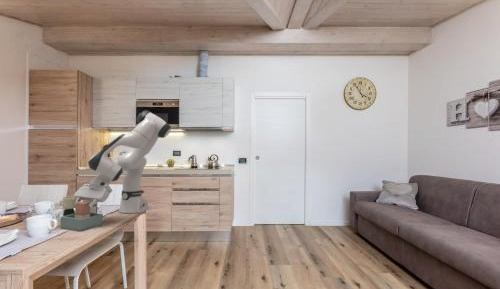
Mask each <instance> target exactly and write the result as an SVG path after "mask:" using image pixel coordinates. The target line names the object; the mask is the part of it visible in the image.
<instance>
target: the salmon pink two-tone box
mask: <svg viewBox="0 0 500 289" xmlns="http://www.w3.org/2000/svg"><path fill="white" fill-rule="evenodd" d="M89 203H90V202H84V201H83V200H82V201H80V202H78V203H75V208H74V210H75V218H77V219H84V218H88V217H90V208H89V207H88V205H89Z"/></svg>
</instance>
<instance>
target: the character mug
mask: <svg viewBox="0 0 500 289" xmlns="http://www.w3.org/2000/svg"><path fill="white" fill-rule="evenodd" d="M76 200H77V199H76V198H75V197H74V195H73V196H64V197H62V199H60V200H59V206H60V207H62V209H63V214H62V216H67V215H71V214H75V203H76Z"/></svg>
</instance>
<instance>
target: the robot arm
mask: <svg viewBox="0 0 500 289" xmlns="http://www.w3.org/2000/svg"><path fill="white" fill-rule="evenodd" d="M136 120H137V123H138V124H137V125H136V126H135V127H134V128H133V129H132V130H131V131H130V132H128V133H126V134H125V133H122V134H119V135H118V136H117V137H116V138H114V139H113V140H112V141H111V142H109V143H108V144H107V145H106V146H105V147H104V148H102V149H101V150H100V151H99V152H96V153H95V154H93V155H92V156H91V157H90V158H89V160H88V167H89V168H90V170H92V171H95V172H97V173H98V174H97V175H96V176H95V177H93V179H92V180H91V181H90V182H89V184H85V185H83V186H81V187H80V188H78V189H77V190H76V191H75V193H73V196H74V197H75V198H76V199H77V200H76V203H78V202H82V201H83V200H88V201H93V202H92V203H89V205H88V207H89V208H92V207H93V205H95V204H97V205H98V203H104V202H106V200H108V198H109V196H110V195H111V193H112V192H113V189H112V188H111V186H110V183H112V182H116V181H118V180H119V178H120V176H121V175H122V174H123V172H124V171H125V172H126V174H125V176H124V177H123V180H122V191H121V199H120V206H119V208H118V212H119V213H122V214H137V213H138V214H140V213H144V212H146V211H149V210H151V209H152V206H150V205H149V202H148V199H147V198H146V197H144V196H143V195H142V194H144V193H145V189H144V190H143V189H142V190H141V181H142V176H143V172H144V169H145V166H147V163H148V162H147V158H146V157H145V156H146V155H148V154H149V153H150V152H151V151H152V149H153V147H154V146H155V144H156V143H157V141H158V140H159V139H163V138H166V137H167V136H169V134H170V133H171V129H172V128H171V127H172V126H171V125H170V124H169V123H168V122H166V121H165V120H164V119H162V118H161V117H159V116H158V115H156V114H154V113H152V112H151V111H149V110H148V109H147V110H142V111H141V112H140V113H139V114H138V116H137V118H136ZM120 146H123V147H127V148H129V149H128V150H127V151H125V153H124V154H122V155H121V156H119V157H118V159H117V160H116V161H117V162H115V161H114V160H112V159H110V158H109V157H108V155H109V154H110V153H111V152H112V151H113V150H115V148H117V147H120Z"/></svg>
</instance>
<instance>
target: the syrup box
mask: <svg viewBox="0 0 500 289" xmlns="http://www.w3.org/2000/svg"><path fill="white" fill-rule="evenodd" d="M83 201H84V202H90V203H92V202H93V201H88V200H82V202H83ZM90 213H98V203H97V204H95V205H93V207H92V208H90Z"/></svg>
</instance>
